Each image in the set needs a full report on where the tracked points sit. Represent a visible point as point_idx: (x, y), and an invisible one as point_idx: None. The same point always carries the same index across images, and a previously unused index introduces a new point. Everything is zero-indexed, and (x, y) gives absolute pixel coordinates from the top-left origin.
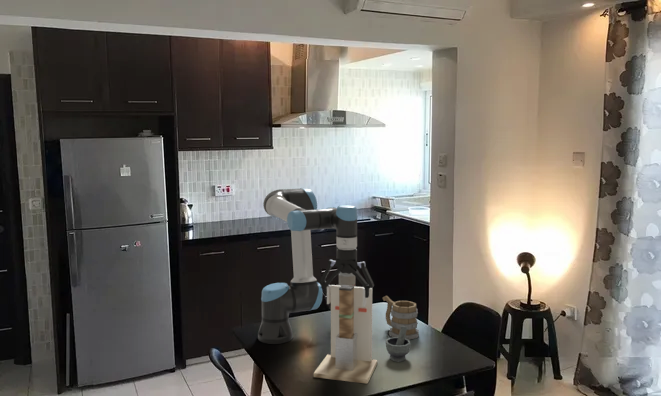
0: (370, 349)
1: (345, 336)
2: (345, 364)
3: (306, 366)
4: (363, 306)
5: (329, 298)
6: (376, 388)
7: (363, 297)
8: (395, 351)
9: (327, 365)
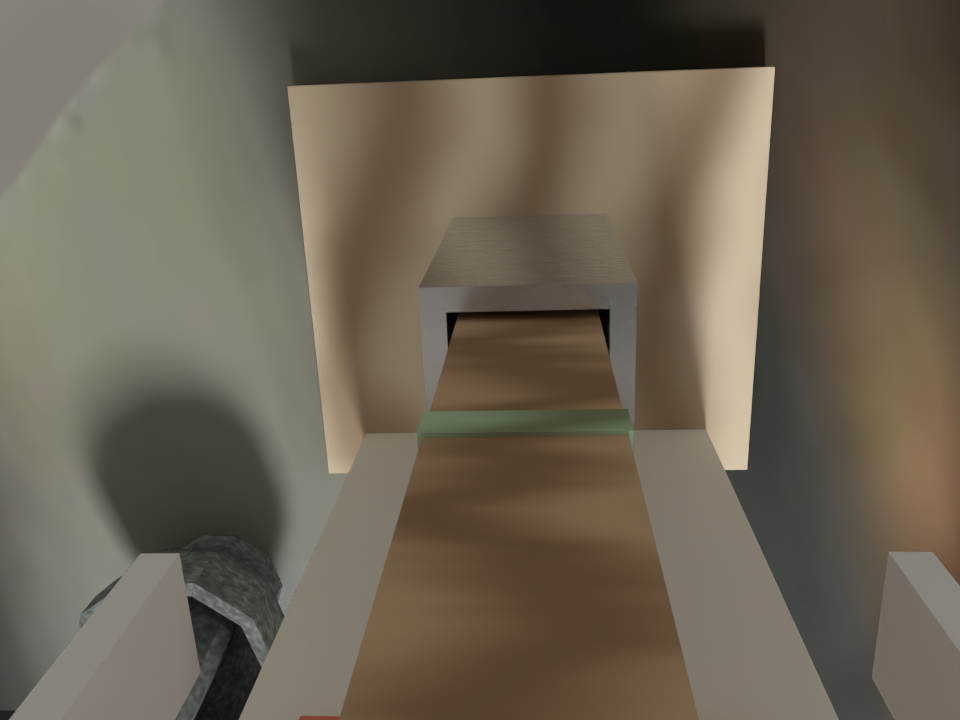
0: (352, 480)
1: (521, 323)
2: (516, 225)
3: (877, 254)
4: (158, 559)
5: (928, 665)
6: (203, 22)
7: (68, 686)
8: (183, 557)
9: (691, 258)
